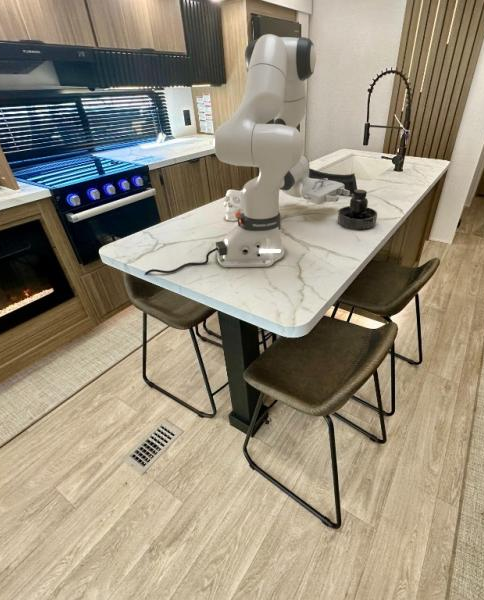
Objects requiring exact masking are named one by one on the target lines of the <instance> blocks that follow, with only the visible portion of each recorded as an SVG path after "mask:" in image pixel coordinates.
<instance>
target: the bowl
mask: <svg viewBox="0 0 484 600" xmlns="http://www.w3.org/2000/svg"><path fill="white" fill-rule="evenodd" d="M349 207H350V205H347V206H343V207H341V208H339V209H338V212H337V222H338V223H339V225H341V226H343V227H346V228H350V229H355V230H361V229H363V230H364V229H371V228H373V227H374V226H375V225H376V224H377V219H378V215H379V214H378V212H377V210H375V209H373V208H372V207H368V206H367V212H366V218H365V219H354V218H349V217H348V216H349Z"/></svg>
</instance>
